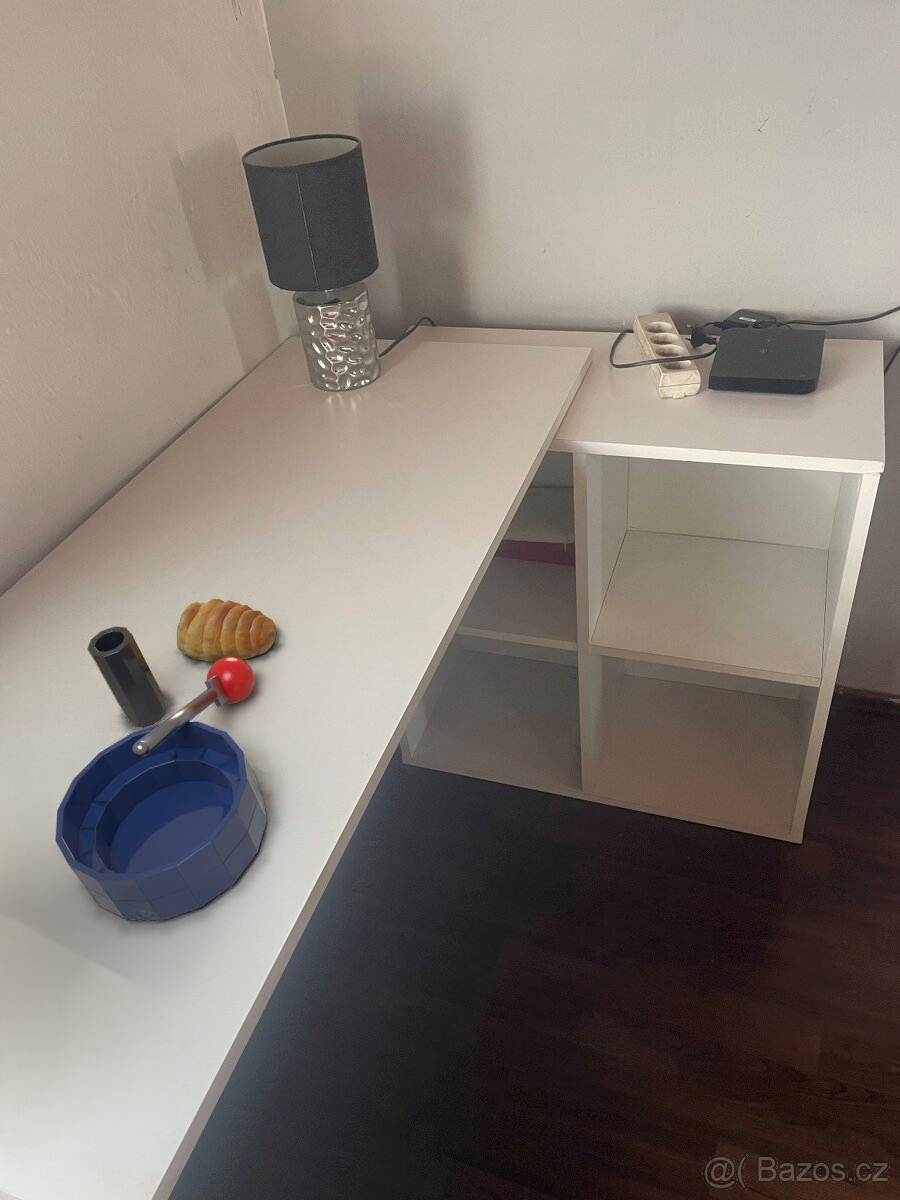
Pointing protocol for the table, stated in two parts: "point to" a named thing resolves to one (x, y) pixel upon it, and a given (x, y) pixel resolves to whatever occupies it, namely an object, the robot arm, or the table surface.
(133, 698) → the cup
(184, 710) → the baster
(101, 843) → the bowl
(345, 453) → the table surface
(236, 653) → the pastry
